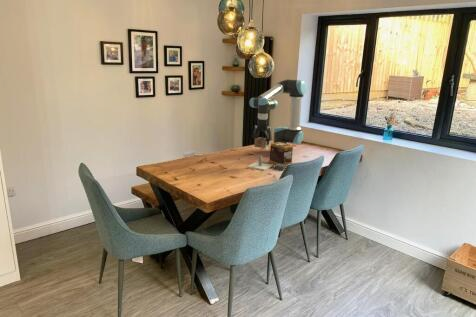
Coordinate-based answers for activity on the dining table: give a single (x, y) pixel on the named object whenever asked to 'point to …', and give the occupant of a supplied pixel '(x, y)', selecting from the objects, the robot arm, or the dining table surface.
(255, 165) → the white post holder
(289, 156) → the supplement box
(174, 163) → the dining table surface
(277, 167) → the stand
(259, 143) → the brown block
